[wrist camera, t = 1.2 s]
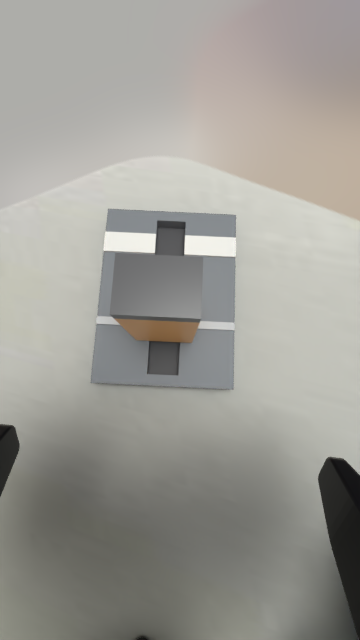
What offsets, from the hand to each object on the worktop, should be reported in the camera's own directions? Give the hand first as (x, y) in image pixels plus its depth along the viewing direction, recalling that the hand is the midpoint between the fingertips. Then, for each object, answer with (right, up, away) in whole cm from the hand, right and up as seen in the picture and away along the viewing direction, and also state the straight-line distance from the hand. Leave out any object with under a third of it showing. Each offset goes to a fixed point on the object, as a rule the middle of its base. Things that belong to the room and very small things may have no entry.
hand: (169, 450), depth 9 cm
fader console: (-1, +5, +13) cm, 14 cm away
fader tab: (-1, +3, +12) cm, 13 cm away
